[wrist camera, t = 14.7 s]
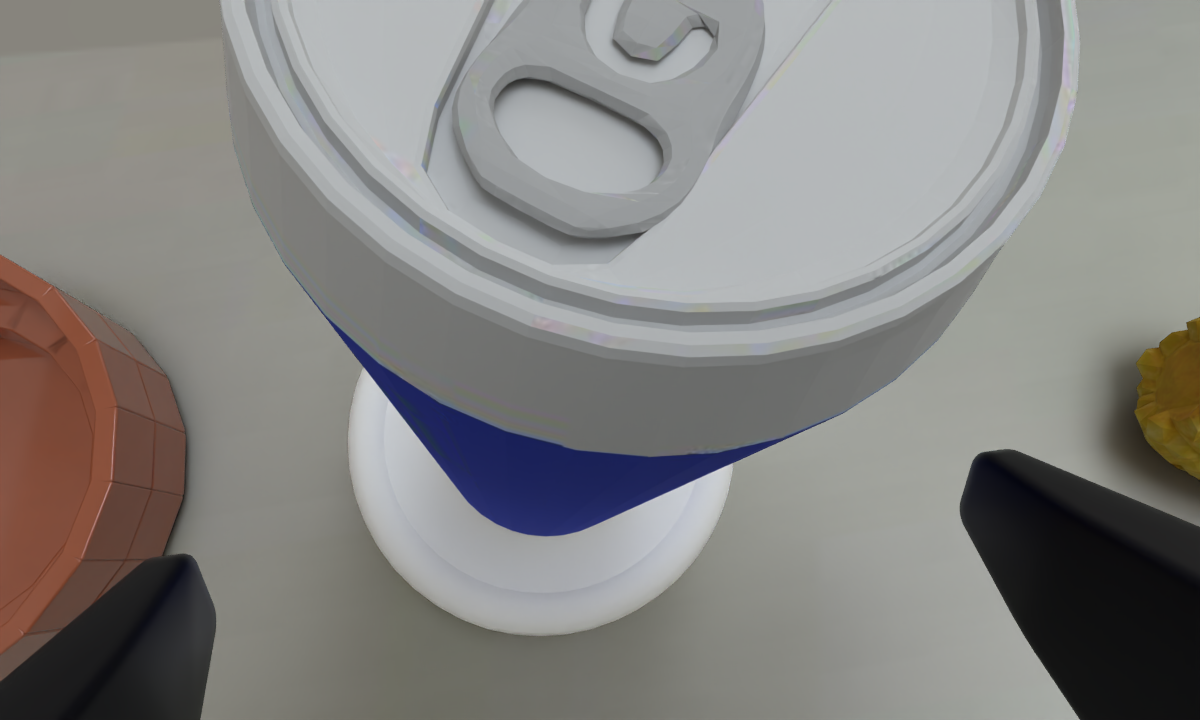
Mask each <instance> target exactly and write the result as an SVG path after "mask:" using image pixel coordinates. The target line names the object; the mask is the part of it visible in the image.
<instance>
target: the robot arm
mask: <svg viewBox="0 0 1200 720" xmlns="http://www.w3.org/2000/svg"><path fill="white" fill-rule="evenodd" d="M960 515H961V519H962V522H963V525H964V527H965V529H966V531H967V532H968V534H969V536H970V538H971V540H972V542H973V543H974V545H975V547H976V549H977V551H978V553H979V555H980V556H981V558H982V560H983V562H984V564H985V566H986V568H987V569H988V571H989V573H990V575H991V577H992V579H993V580H994V582H995V584H996V586H997V588H998V590H999V592H1000V593H1001V595H1002V597H1003V599H1004V601H1005V603H1006V604H1007V606H1008V608H1009V610H1010V612H1011V614H1012V616H1013V617H1014V619H1015V621H1016V622H1017V624H1018V626H1019V628H1020V629H1021V631H1022V633H1023V635H1024V636H1025V638H1026V639H1027V641H1028V642H1029V644H1030V646H1031V647H1032V649H1033V650H1034V652H1035V653H1036V655H1037V656H1038V658H1039V659H1040V661H1041V662H1042V664H1043V665H1044V667H1045V668H1046V670H1047V671H1048V673H1049V674H1050V676H1051V677H1052V679H1053V680H1054V682H1055V683H1056V685H1057V686H1058V688H1059V689H1060V691H1061V692H1062V694H1063V695H1064V697H1065V698H1066V700H1067V701H1068V703H1069V704H1070V706H1071V707H1072V708H1073V710H1074V711H1075V713H1076V714H1077V716H1078V717H1079V719H1080V720H1200V527H1199V526H1196V525H1194V524H1191V523H1189V522H1187V521H1184V520H1182V519H1179V518H1177V517H1175V516H1172V515H1170V514H1167V513H1165V512H1163V511H1160V510H1158V509H1155V508H1153V507H1151V506H1148V505H1146V504H1143V503H1141V502H1139V501H1136V500H1134V499H1131V498H1129V497H1127V496H1124V495H1122V494H1119V493H1117V492H1115V491H1112V490H1110V489H1107V488H1105V487H1103V486H1100V485H1098V484H1095V483H1093V482H1091V481H1088V480H1086V479H1083V478H1081V477H1079V476H1076V475H1074V474H1071V473H1069V472H1067V471H1064V470H1062V469H1059V468H1057V467H1055V466H1052V465H1050V464H1047V463H1045V462H1043V461H1040V460H1038V459H1035V458H1033V457H1031V456H1028V455H1026V454H1023V453H1021V452H1018V451H1016V450H1011V449H1004V450H996V451H988V452H983V453H980V454H978V455H977V456H976V457H975V459H974V460H973V462H972V465H971V468H970V471H969V475H968V478H967V481H966V485H965V488H964V491H963V495H962V498H961V502H960ZM215 631H216V613H215V608H214V605H213V602H212V599H211V597H210V594H209V592H208V589H207V587H206V584H205V582H204V579H203V577H202V574H201V572H200V569H199V567H198V564H197V562H196V561H195V559H194V558H193V557H192V556H191V555H188V554H176V555H168V556H160V557H153V558H150V559H147V560H145V561H143V562H142V563H141V564H139V565H138V566H137V567H136V568H135V569H133V570H132V571H131V572H130V573H129V574H127V575H126V576H125V577H124V578H123V579H121V580H120V581H119V582H118V583H117V584H116V585H114V586H113V587H112V588H111V589H110V590H108V591H107V592H106V593H105V594H104V595H102V596H101V597H100V598H99V599H98V600H96V601H95V602H94V603H93V604H92V605H91V606H89V607H88V608H87V609H86V610H85V611H83V612H82V613H81V614H80V615H79V616H77V617H76V618H75V619H74V620H73V621H72V622H70V623H69V624H68V625H67V626H66V627H64V628H63V629H62V630H61V631H60V632H58V633H57V634H56V635H55V636H54V637H53V638H51V639H50V640H49V641H48V642H47V643H45V644H44V645H43V646H42V647H41V648H39V649H38V650H37V651H36V652H35V653H33V654H32V655H31V656H30V657H29V658H28V659H26V660H25V661H24V662H23V663H22V664H20V665H19V666H18V667H17V668H16V669H14V670H13V671H12V672H11V673H10V674H9V675H7V676H6V677H5V678H4V679H3V680H1V681H0V720H200V718H201V712H202V706H203V701H204V695H205V689H206V683H207V677H208V672H209V666H210V660H211V654H212V649H213V643H214V637H215Z"/></svg>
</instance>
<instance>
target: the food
mask: <svg viewBox="0 0 1200 720" xmlns="http://www.w3.org/2000/svg"><path fill="white" fill-rule="evenodd" d="M1186 323H1187V328H1188V330H1184V331H1178V332H1173V333H1171V334H1170V335H1168V336H1167V337H1166V338H1165V339H1164V340H1162V341H1161V342H1160V344H1159V348H1152V349H1146V351H1145V352H1144V353H1143V355H1142V356H1141V357H1140V359H1139V360H1138V361H1137V363H1136V365H1137V367H1138V369H1139V371H1140V374H1141V376H1142V378H1143V379H1142V381H1141V382H1140V383H1139V385H1138V386H1137V392H1138V395H1139V399H1138V401H1137V410H1135V411H1134V412H1135V415H1136V417H1137V419H1138V421H1139V424H1140V426H1141V428H1142V431H1143V434H1144V436H1145V439H1146V441H1147V442H1148V443H1149V444H1150V445H1151V447H1152V448H1153V449H1154V450H1155V451H1157V452H1158V453H1159V454H1160V455H1161V456H1162V457H1164V458H1165V459H1166V460H1167V461H1168V462H1169V463H1171V464H1172V465H1173V466H1175V467H1176V468H1178V469H1181V470H1184V471H1187V472H1188V473H1189V474H1190V475H1191V476H1194V477H1196V478H1197V479H1199V480H1200V317H1199V318H1197V319H1194V320H1191V321H1189V322H1186Z"/></svg>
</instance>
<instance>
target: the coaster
mask: <svg viewBox="0 0 1200 720" xmlns="http://www.w3.org/2000/svg"><path fill="white" fill-rule="evenodd" d="M347 446H348V461H349V472H350V476H351V481H352V485H353V490H354V494H355V498H356V501H357V503H358V506H359V509H360V511H361V514H362V517H363V519H364V522H365V524H366V526H367V528H368V530H369V531H370V533H371V535H372V537H373V539H374V541H375V543H376V545H377V546H378V548H379V549H380V551H381V552H382V553H383V555H384V556H385V557H386V559H387V560H388V561H389V563H390V564H391V565H392V567H393V568H394V569H395V570H396V571H397V572H398V573H399V574H400V575H401V576H402V577H403V578H404V579H405V580H406V581H407V582H408V583H409V584H410V585H411V586H412V587H413V588H414V589H415V590H416V591H417V592H419V593H420V594H421V595H423V596H424V597H425V598H427V599H428V600H429V601H431V602H432V603H433V604H435V605H436V606H438V607H439V608H441V609H443V610H445V611H447V612H449V613H450V614H452V615H454V616H456V617H458V618H460V619H461V620H464V621H467V622H469V623H472V624H475V625H478V626H480V627H483V628H486V629H489V630H494V631H499V632H504V633H509V634H514V635H528V636H552V635H566V634H571V633H576V632H581V631H585V630H590V629H594V628H597V627H599V626H602V625H605V624H608V623H611V622H613V621H616V620H618V619H620V618H622V617H624V616H626V615H628V614H630V613H632V612H634V611H636V610H638V609H640V608H641V607H643V606H644V605H646V604H647V603H649V602H650V601H652V600H653V599H655V598H656V597H658V596H659V595H660V594H662V593H663V592H664V591H665V590H666V589H667V588H669V587H670V586H671V585H672V584H673V583H674V582H675V581H677V580H678V579H679V578H680V577H681V576H682V574H683V573H684V572H685V571H686V570H687V569H688V568H689V566H690V565H691V564H692V563H693V562H694V561H695V560H696V558H697V557H698V555H699V554H700V552H701V551H702V549H703V548H704V546H705V545H706V543H707V542H708V540H709V539H710V537H711V535H712V533H713V531H714V528H715V526H716V524H717V522H718V520H719V518H720V516H721V513H722V510H723V507H724V504H725V501H726V499H727V496H728V492H729V487H730V482H731V477H732V471H733V463H732V464H730V465H727V466H725V467H723V468H721V469H718V470H716V471H714V472H712V473H710V474H707V475H705V476H703V477H701V478H698V479H696V480H694V481H692V482H690V483H687V484H685V485H683V486H681V487H679V488H676V489H674V490H672V491H670V492H667V493H665V494H663V495H661V496H659V497H656V498H654V499H652V500H650V501H647V502H645V503H643V504H641V505H639V506H636V507H634V508H632V509H630V510H627V511H625V512H623V513H621V514H619V515H616V516H614V517H612V518H610V519H607V520H605V521H603V522H601V523H599V524H596V525H594V526H592V527H589V528H587V529H584V530H582V531H579V532H575V533H571V534H567V535H560V536H534V535H527V534H523V533H519V532H515V531H511V530H509V529H507V528H504V527H502V526H500V525H497V524H495V523H494V522H492V521H491V520H489V519H488V518H486V517H485V516H483V515H481V514H480V513H479V512H478V511H477V510H476V509H475V508H474V507H473V506H471V505H470V504H469V503H468V502H467V500H466V499H465V498H464V497H463V495H462V494H461V493H460V492H459V490H458V489H457V488H456V486H455V485H454V484H453V483H452V481H451V480H450V479H449V477H448V476H447V475H446V473H445V472H444V471H443V470H442V468H441V467H440V466H439V464H438V463H437V462H436V460H435V459H434V458H433V457H432V455H431V454H430V453H429V451H428V450H427V449H426V447H425V446H424V445H423V444H422V442H421V441H420V440H419V438H418V437H417V436H416V434H415V433H414V432H413V431H412V429H411V428H410V427H409V425H408V424H407V423H406V422H405V420H404V419H403V418H402V416H401V415H400V414H399V412H398V411H397V410H396V409H395V407H394V406H393V405H392V403H391V402H390V401H389V399H388V398H387V397H386V396H385V394H384V393H383V392H382V390H381V389H380V388H379V386H378V385H377V384H376V383H375V381H374V380H373V379H372V377H371V376H370V375H369V373H368V372H367V371H366V370H365V368H364V367H363V368H362V371H361V374H360V377H359V379H358V382H357V385H356V388H355V391H354V395H353V400H352V405H351V410H350V415H349V426H348V440H347Z"/></svg>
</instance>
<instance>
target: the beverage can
mask: <svg viewBox="0 0 1200 720" xmlns="http://www.w3.org/2000/svg"><path fill="white" fill-rule="evenodd" d="M219 3H220V10H221V21H222V32H223V45H224V60H225V74H226V88H227V96H228V104H229V112H230V120H231V128H232V136H233V144H234V149H235V152H236V155H237V158H238V161H239V164H240V167H241V170H242V174H243V177H244V180H245V183H246V186H247V189H248V192H249V195H250V198H251V201H252V204H253V207H254V209H255V211H256V213H257V214H258V216H259V218H260V220H261V222H262V224H263V225H264V227H265V229H266V231H267V233H268V235H269V237H270V238H271V240H272V242H273V244H274V246H275V248H276V250H277V251H278V253H279V255H280V257H281V259H282V261H283V262H284V264H285V266H286V267H287V268H288V269H289V271H290V272H291V273H292V275H293V276H294V277H295V279H296V280H297V281H298V282H299V284H300V285H301V286H302V288H303V289H304V290H305V292H306V293H307V294H308V295H309V297H310V298H311V299H312V301H313V302H314V303H315V305H316V306H317V307H318V308H319V310H320V311H321V312H322V314H323V315H324V316H325V318H326V319H327V320H328V321H329V323H330V324H331V325H332V327H333V328H334V329H335V331H336V332H337V333H338V334H339V336H340V337H341V338H342V340H343V341H344V342H345V344H346V345H347V346H348V347H349V349H350V350H351V351H352V353H353V354H354V355H355V357H356V358H357V359H358V360H359V362H360V363H361V364H362V366H363V367H364V368H365V370H366V371H367V372H368V373H369V375H370V376H371V377H372V379H373V380H374V381H375V383H376V384H377V385H378V386H379V388H380V389H381V390H382V392H383V393H384V394H385V396H386V397H387V398H388V399H389V401H390V402H391V403H392V405H393V406H394V407H395V409H396V410H397V411H398V412H399V414H400V415H401V416H402V418H403V419H404V420H405V422H406V423H407V424H408V425H409V427H410V428H411V429H412V431H413V432H414V433H415V434H416V436H417V437H418V438H419V440H420V441H421V442H422V444H423V445H424V446H425V447H426V449H427V450H428V451H429V453H430V454H431V455H432V457H433V458H434V459H435V460H436V462H437V463H438V464H439V466H440V467H441V468H442V470H443V471H444V472H445V473H446V475H447V476H448V477H449V479H450V480H451V481H452V483H453V484H454V485H455V486H456V488H457V489H458V490H459V492H460V493H461V494H462V495H463V497H464V498H465V499H466V500H467V502H468V503H469V504H470V505H471V506H473V507H474V508H475V509H476V510H477V511H478V512H479V513H480V514H481V515H483V516H485V517H486V518H488V519H489V520H491V521H492V522H494V523H495V524H497V525H500V526H502V527H504V528H507V529H509V530H511V531H515V532H519V533H523V534H527V535H534V536H560V535H567V534H571V533H575V532H579V531H582V530H584V529H587V528H589V527H592V526H594V525H596V524H599V523H601V522H603V521H605V520H607V519H610V518H612V517H614V516H616V515H619V514H621V513H623V512H625V511H627V510H630V509H632V508H634V507H636V506H639V505H641V504H643V503H645V502H647V501H650V500H652V499H654V498H656V497H659V496H661V495H663V494H665V493H667V492H670V491H672V490H674V489H676V488H679V487H681V486H683V485H685V484H687V483H690V482H692V481H694V480H696V479H698V478H701V477H703V476H705V475H707V474H710V473H712V472H714V471H716V470H718V469H721V468H723V467H725V466H727V465H730V464H732V463H734V462H736V461H738V460H741V459H743V458H745V457H747V456H750V455H752V454H754V453H756V452H758V451H761V450H763V449H765V448H767V447H770V446H772V445H774V444H776V443H778V442H781V441H783V440H785V439H787V438H789V437H792V436H794V435H796V434H798V433H801V432H803V431H805V430H807V429H809V428H812V427H814V426H816V425H818V424H821V423H823V422H825V421H827V420H829V419H832V418H834V417H836V416H838V415H841V414H843V413H844V412H846V411H847V410H849V409H850V408H852V407H854V406H855V405H857V404H858V403H860V402H861V401H863V400H865V399H866V398H868V397H869V396H871V395H872V394H874V393H876V392H877V391H879V390H880V389H882V388H883V387H885V386H887V385H888V384H890V383H891V382H893V381H894V380H896V379H897V378H898V377H899V376H900V375H901V374H902V373H903V372H904V371H905V370H906V369H907V368H909V367H910V366H911V365H912V364H913V363H914V362H915V361H916V360H917V359H918V358H919V357H920V356H921V355H923V354H924V353H925V352H926V351H927V350H928V349H929V348H930V347H931V346H932V345H933V344H934V343H935V342H937V341H938V339H939V338H940V337H941V335H942V334H943V333H944V331H945V330H946V329H947V327H948V326H949V325H950V323H951V322H952V321H953V319H954V318H955V316H956V315H957V314H958V312H959V311H960V310H961V308H962V307H963V306H964V304H965V303H966V302H967V300H968V299H969V298H970V296H971V295H972V293H973V292H974V290H975V289H976V287H977V285H978V284H979V282H980V281H981V279H982V277H983V276H984V274H985V273H986V271H987V270H988V268H989V266H990V265H991V263H992V262H993V260H994V258H995V257H996V255H997V254H998V252H999V251H1000V250H1001V248H1002V247H1003V246H1004V244H1005V243H1006V242H1007V240H1008V239H1009V238H1010V236H1011V235H1012V234H1013V232H1014V231H1015V230H1016V228H1017V227H1018V226H1019V224H1020V223H1021V221H1022V220H1023V219H1024V217H1025V216H1026V215H1027V213H1028V212H1029V211H1030V209H1031V208H1032V207H1033V205H1034V204H1035V203H1036V201H1037V200H1038V199H1039V197H1040V196H1041V194H1042V192H1043V190H1044V188H1045V186H1046V183H1047V181H1048V179H1049V177H1050V175H1051V173H1052V171H1053V169H1054V167H1055V164H1056V162H1057V160H1058V158H1059V156H1060V154H1061V152H1062V150H1063V148H1064V146H1065V142H1066V138H1067V133H1068V129H1069V125H1070V121H1071V117H1072V113H1073V109H1074V105H1075V101H1076V97H1077V93H1078V74H1079V55H1080V34H1079V26H1078V18H1077V11H1076V3H1075V0H219Z"/></svg>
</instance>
